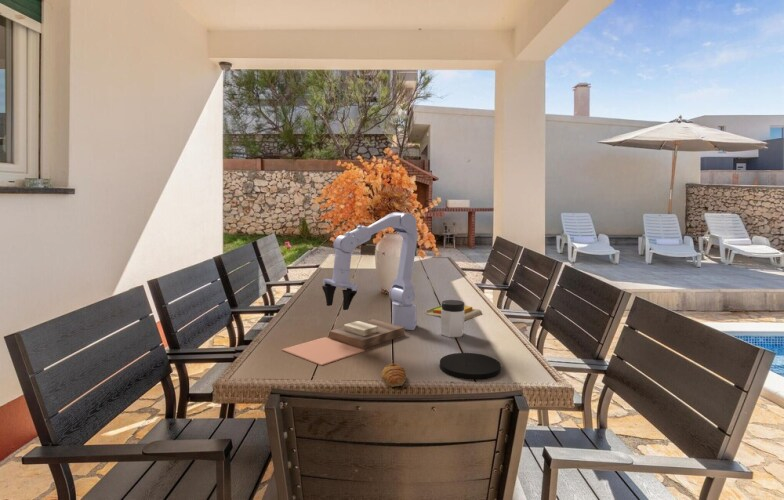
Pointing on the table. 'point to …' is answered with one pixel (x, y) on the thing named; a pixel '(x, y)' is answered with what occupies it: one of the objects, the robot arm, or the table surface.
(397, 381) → the pastry
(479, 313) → the wooden puzzle
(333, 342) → the terracotta mat
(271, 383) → the table surface
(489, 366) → the wireless charger
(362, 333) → the birch tile
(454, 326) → the jar
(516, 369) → the table surface
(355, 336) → the walnut board
